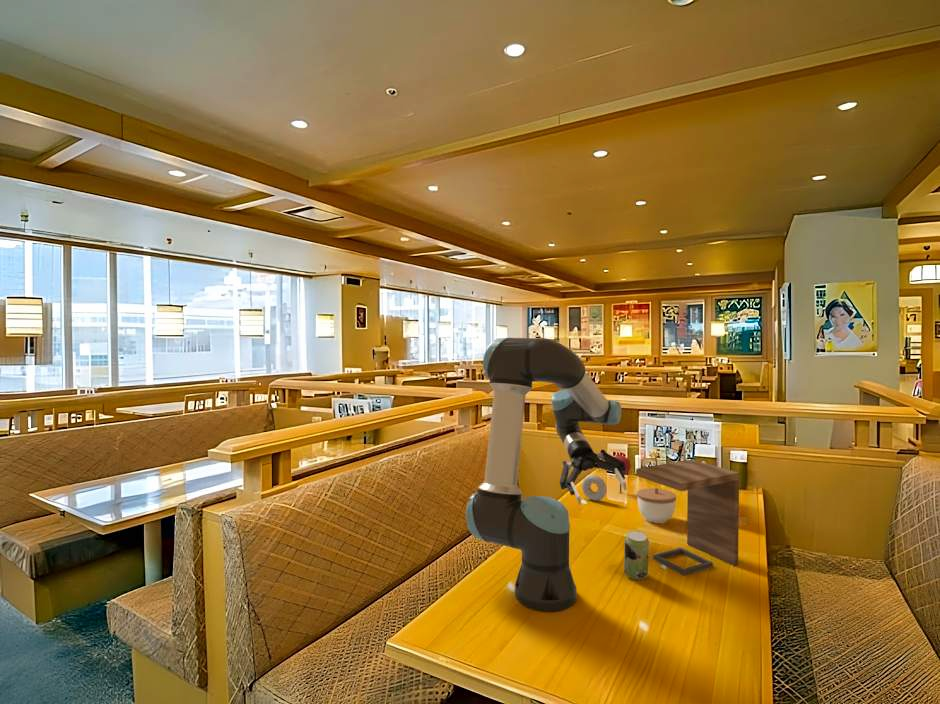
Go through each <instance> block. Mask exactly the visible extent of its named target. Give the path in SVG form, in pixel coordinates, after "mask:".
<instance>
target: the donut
mask: <svg viewBox="0 0 940 704" xmlns="http://www.w3.org/2000/svg"><path fill="white" fill-rule="evenodd" d="M592 484H594V485H596V487H597V490H596V491H594V490H593V489H592V487H591V486H592ZM607 489H608V488H607V484H606V482H605V480H604V479H603V478H602V477H601V476H599V475H597V474H588V475H586V476H585V477H584V478H583V480H582V482H581V490H582V493H583V494H584V496H585V497H586V498H587V499H588V500H591V501H594V502H595V501H596V502H598V501H601V500H602V499H604V498H605V496H606V494H607Z"/></svg>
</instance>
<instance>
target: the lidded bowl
mask: <svg viewBox="0 0 940 704" xmlns="http://www.w3.org/2000/svg"><path fill="white" fill-rule="evenodd" d="M636 496H637V506H638V509H639V512H640V514H641V515H642V517H643V518H644V519H645V521H647V520H648V521H647V522H649V521H650V522H649V523H652V522H654V523H653V524H658V523H661V524H665V523H666V524H667V523H668V521H669V520H670V519H671V518H672V517H673V516H674V513H675V511H676V505H677V504H676V500H677V495H676V493H674V492H672V491H670V490H667V489H663V488H659V487H654V488H653V487H650V488H649V487H645V488H641V489H639V490H637V491H636Z"/></svg>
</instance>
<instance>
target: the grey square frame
mask: <svg viewBox="0 0 940 704" xmlns="http://www.w3.org/2000/svg"><path fill="white" fill-rule="evenodd" d="M680 554H681V555H683V556H685V557H688V558H690V559H691V560H693V561H696V562H697V563H699V564H695V565H692V566H688V567H686V568H683V567H681V566H679V565H678V564H675V563H673V562H672V561H669V560H667V559H666V558H669V557H670V558H671V557H674V556H676V555H680ZM652 560H654V561H656V562H658V563H660V564H661V565H664V566H666V567H667V568H669V569H671V570H673V571H675V572H676V573H679V574H681V575H682V576H688V575H691V574H693V573H697V572H700V571H705V570H707V569H711V568H713V567H714V562H712V561H710V560H708V559H706V558H704V557H702V556H699V555H698V554H695V553H694V552H691V551H689V550H687V549H685V548H683V547H678V548H673V549H670V550H666V551H663V552H658V553H655V554H652Z"/></svg>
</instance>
